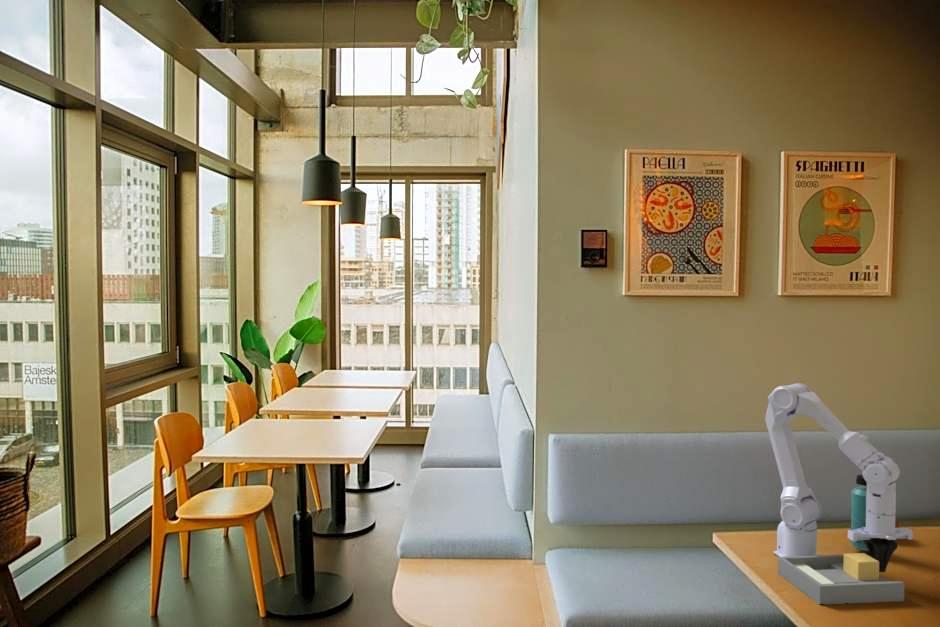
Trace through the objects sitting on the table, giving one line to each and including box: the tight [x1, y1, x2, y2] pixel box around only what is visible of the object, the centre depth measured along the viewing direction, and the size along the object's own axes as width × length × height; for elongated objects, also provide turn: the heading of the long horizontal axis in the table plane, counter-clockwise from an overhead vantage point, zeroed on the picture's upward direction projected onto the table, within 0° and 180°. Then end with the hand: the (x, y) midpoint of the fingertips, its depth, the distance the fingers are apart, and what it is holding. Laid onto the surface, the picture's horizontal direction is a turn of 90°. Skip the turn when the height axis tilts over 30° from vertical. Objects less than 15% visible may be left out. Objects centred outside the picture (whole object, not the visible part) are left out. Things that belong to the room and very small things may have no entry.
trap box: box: [777, 554, 905, 605], centre depth 149 cm, size 16×19×4 cm
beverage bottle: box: [849, 474, 869, 552], centre depth 169 cm, size 6×7×20 cm
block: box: [843, 552, 880, 580], centre depth 150 cm, size 5×5×4 cm
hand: (879, 570), depth 150 cm, fingers closed
